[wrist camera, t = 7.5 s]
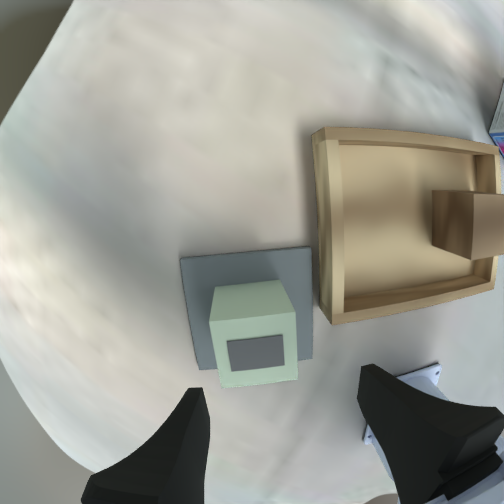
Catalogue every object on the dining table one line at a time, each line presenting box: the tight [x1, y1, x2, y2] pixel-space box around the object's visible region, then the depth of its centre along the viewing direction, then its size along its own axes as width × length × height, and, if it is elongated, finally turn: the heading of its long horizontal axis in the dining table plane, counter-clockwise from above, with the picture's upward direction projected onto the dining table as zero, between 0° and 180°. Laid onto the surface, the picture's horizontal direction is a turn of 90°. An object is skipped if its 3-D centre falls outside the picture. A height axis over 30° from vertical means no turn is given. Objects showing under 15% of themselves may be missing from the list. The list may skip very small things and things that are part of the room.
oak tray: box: [311, 127, 501, 325], centre depth 19 cm, size 13×17×3 cm
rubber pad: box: [180, 246, 313, 370], centre depth 21 cm, size 9×9×1 cm
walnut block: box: [432, 190, 504, 260], centre depth 18 cm, size 4×5×5 cm
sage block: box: [209, 280, 298, 388], centre depth 18 cm, size 4×4×6 cm
